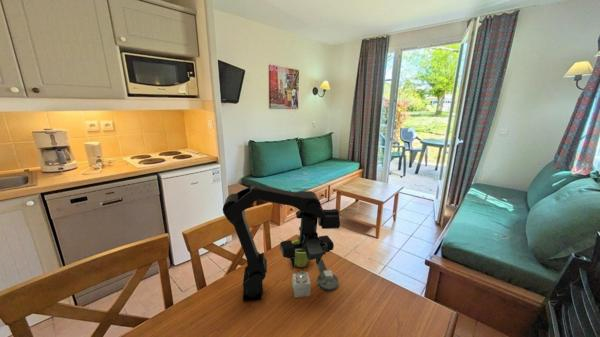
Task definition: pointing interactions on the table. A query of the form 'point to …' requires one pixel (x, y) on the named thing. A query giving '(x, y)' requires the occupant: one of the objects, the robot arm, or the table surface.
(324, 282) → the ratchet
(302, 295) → the block with round boss
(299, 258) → the plant pot
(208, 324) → the table surface
